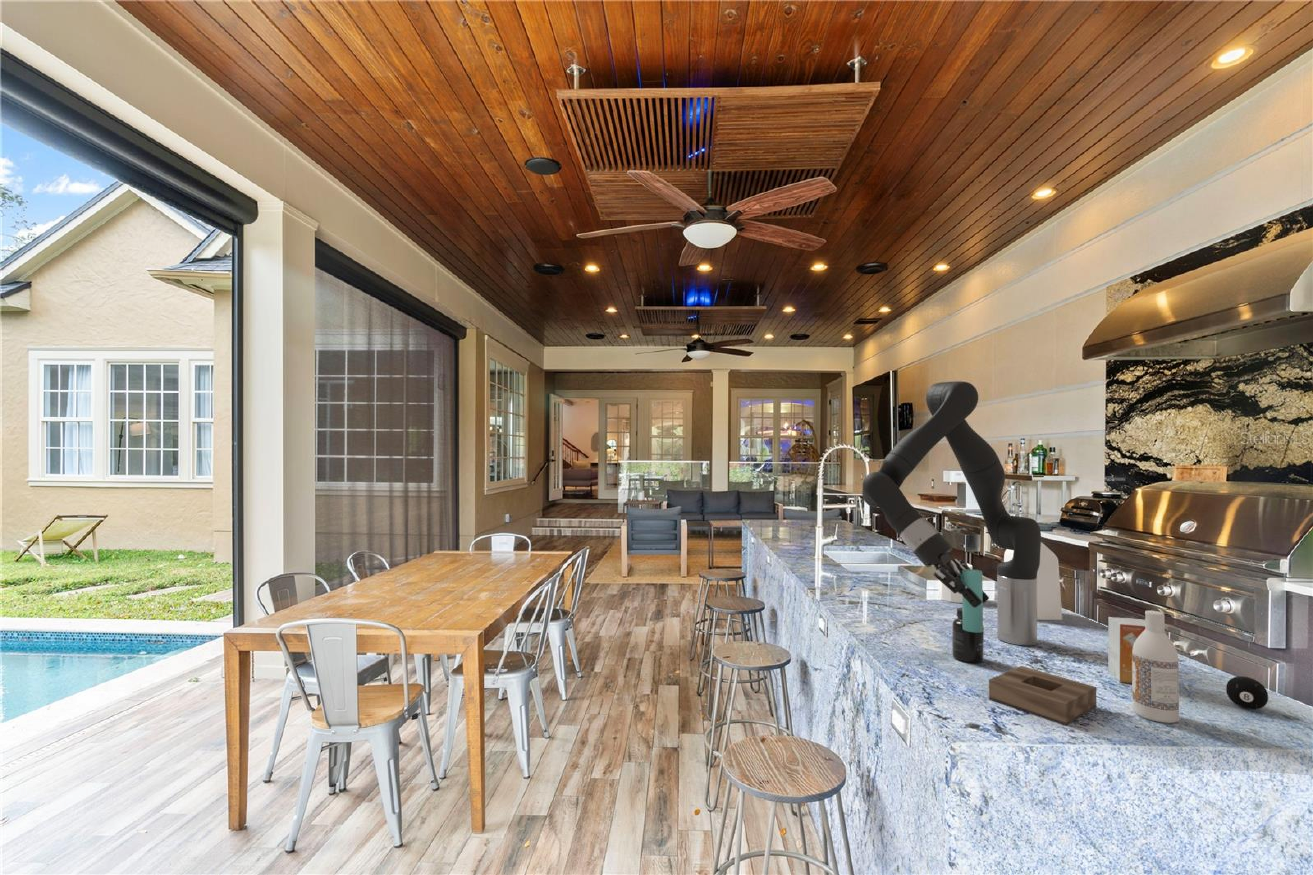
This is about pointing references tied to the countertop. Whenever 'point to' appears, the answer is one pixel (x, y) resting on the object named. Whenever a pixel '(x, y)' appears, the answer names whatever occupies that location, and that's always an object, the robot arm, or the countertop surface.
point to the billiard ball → (1247, 692)
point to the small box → (1122, 646)
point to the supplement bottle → (966, 642)
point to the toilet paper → (950, 592)
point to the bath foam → (1155, 672)
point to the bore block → (1043, 694)
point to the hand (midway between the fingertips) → (982, 603)
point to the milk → (1046, 584)
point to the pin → (970, 614)
